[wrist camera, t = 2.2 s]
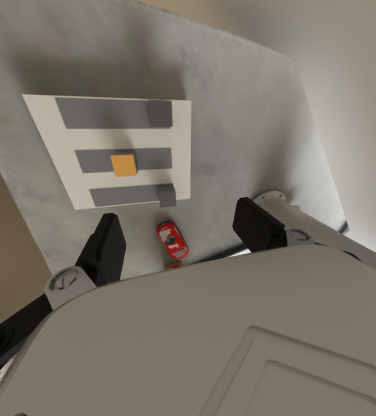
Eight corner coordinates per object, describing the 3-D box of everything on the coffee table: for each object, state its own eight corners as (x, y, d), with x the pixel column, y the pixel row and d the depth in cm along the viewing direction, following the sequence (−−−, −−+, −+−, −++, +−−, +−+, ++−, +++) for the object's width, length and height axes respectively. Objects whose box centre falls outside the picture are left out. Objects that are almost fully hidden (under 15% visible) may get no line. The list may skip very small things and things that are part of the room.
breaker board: (187, 103, 25) (197, 97, 19) (187, 193, 33) (194, 206, 28) (37, 98, 20) (-3, 88, 15) (81, 202, 29) (66, 220, 24)
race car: (189, 249, 43) (192, 259, 40) (173, 256, 43) (175, 267, 40) (173, 216, 36) (175, 226, 33) (153, 225, 36) (154, 235, 33)
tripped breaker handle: (135, 150, 23) (132, 155, 20) (138, 169, 25) (136, 175, 22) (115, 151, 23) (110, 155, 20) (120, 170, 24) (115, 176, 21)
